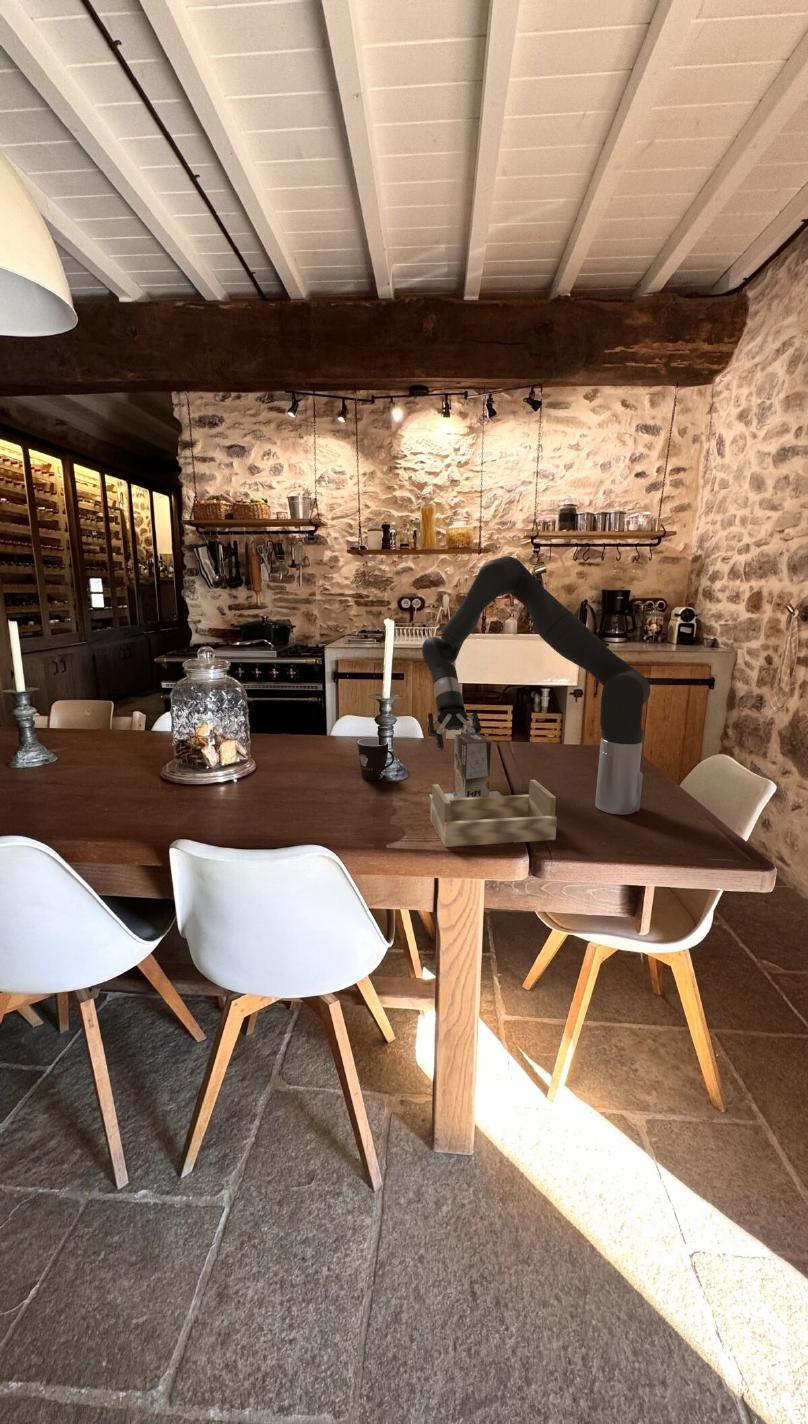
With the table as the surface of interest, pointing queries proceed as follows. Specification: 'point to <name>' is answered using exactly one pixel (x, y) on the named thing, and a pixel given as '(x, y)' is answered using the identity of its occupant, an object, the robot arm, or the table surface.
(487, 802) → the wooden crate
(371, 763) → the coffee mug
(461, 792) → the coffee box
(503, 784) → the table surface
